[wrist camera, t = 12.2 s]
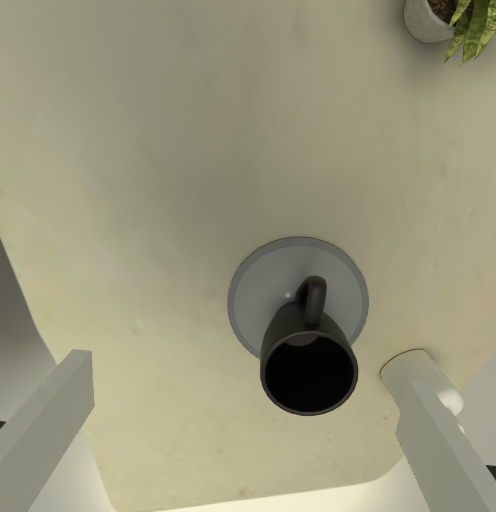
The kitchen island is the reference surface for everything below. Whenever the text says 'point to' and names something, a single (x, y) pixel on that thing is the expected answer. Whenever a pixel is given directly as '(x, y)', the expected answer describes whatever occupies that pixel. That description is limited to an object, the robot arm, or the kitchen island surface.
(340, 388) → the mug
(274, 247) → the round gray plate
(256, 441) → the kitchen island surface
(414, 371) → the eye dropper bottle
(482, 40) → the house plant
